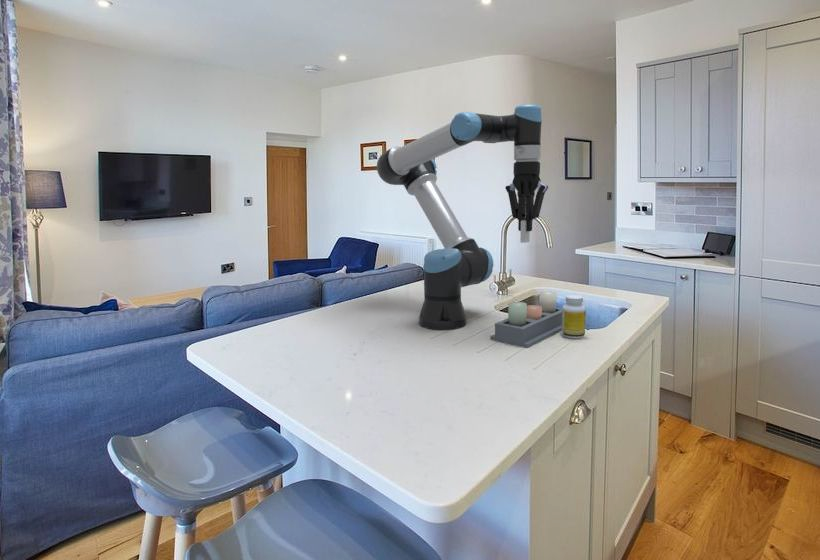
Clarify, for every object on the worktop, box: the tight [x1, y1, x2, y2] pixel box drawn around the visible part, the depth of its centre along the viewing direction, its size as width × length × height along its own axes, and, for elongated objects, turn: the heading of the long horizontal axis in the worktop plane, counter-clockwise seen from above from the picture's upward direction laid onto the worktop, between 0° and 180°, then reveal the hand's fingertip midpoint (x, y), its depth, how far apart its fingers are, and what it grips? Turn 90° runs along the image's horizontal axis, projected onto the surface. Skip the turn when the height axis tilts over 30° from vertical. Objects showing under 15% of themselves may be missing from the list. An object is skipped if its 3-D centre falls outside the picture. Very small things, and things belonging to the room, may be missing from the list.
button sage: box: [507, 301, 528, 327], centre depth 142 cm, size 5×5×6 cm
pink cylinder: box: [526, 304, 542, 320], centre depth 149 cm, size 5×5×6 cm
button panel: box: [489, 307, 562, 349], centre depth 149 cm, size 12×27×5 cm, turn 138°
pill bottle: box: [560, 294, 587, 340], centre depth 144 cm, size 6×6×12 cm
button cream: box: [538, 290, 557, 314], centre depth 155 cm, size 5×5×6 cm
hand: (524, 242), depth 150 cm, fingers closed
